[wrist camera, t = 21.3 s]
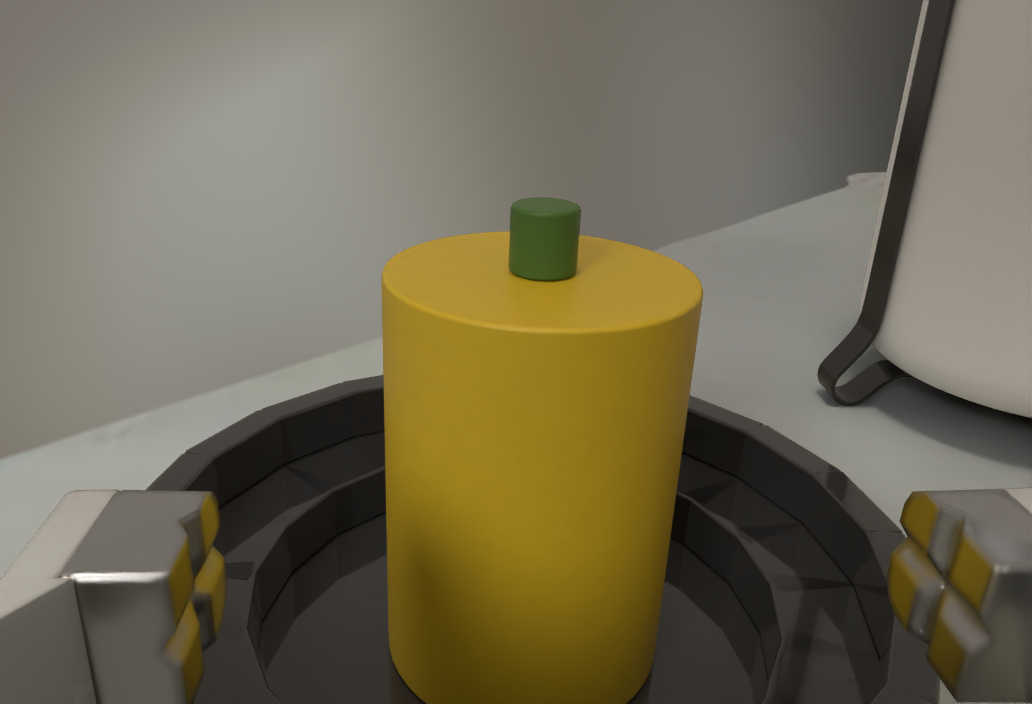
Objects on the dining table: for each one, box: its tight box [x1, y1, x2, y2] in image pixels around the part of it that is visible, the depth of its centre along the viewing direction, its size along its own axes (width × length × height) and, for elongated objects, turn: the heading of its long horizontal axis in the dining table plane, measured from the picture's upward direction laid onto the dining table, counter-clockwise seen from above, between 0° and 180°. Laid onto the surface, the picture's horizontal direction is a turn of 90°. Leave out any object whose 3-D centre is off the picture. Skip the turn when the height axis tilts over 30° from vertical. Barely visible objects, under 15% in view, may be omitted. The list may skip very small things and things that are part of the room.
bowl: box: [146, 375, 940, 704], centre depth 18 cm, size 16×16×4 cm
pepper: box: [382, 198, 703, 704], centre depth 16 cm, size 6×6×9 cm
